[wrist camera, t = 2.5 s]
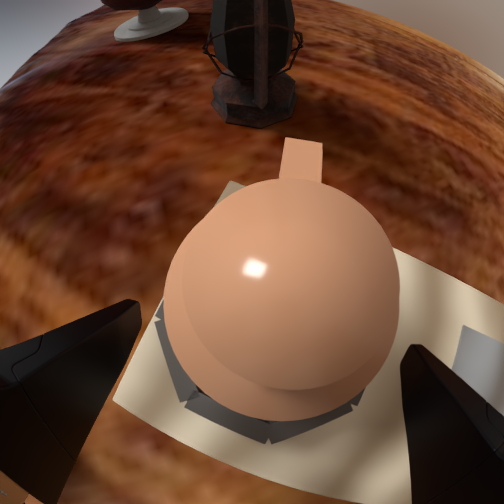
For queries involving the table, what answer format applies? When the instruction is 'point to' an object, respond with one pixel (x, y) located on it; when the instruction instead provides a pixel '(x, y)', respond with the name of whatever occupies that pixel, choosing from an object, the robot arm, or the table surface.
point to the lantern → (253, 60)
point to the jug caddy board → (347, 438)
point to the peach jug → (284, 295)
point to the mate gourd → (146, 19)
